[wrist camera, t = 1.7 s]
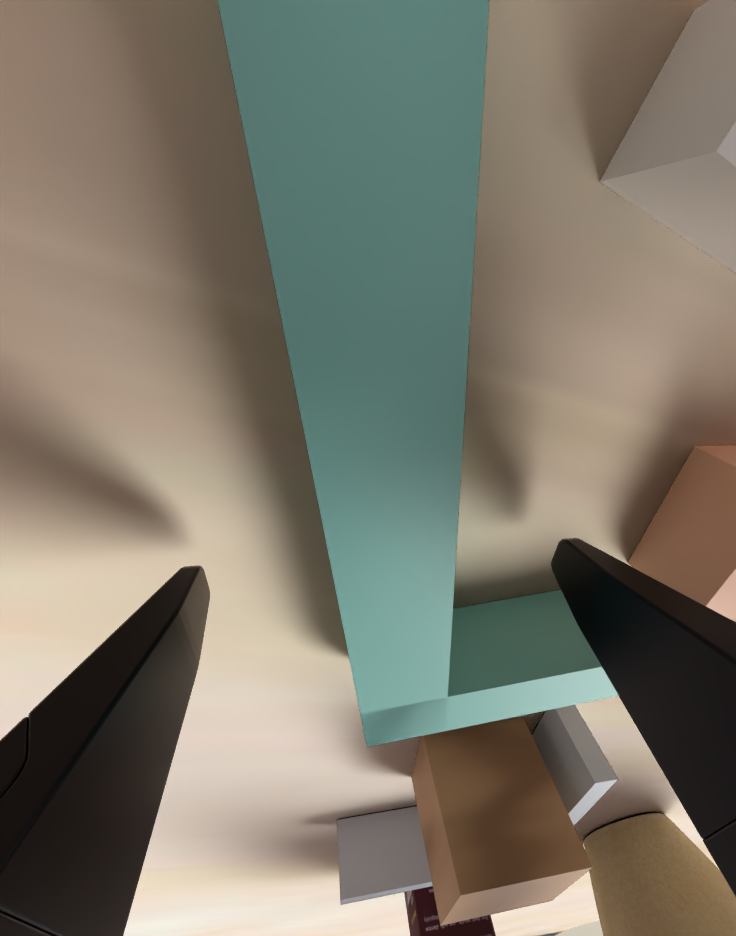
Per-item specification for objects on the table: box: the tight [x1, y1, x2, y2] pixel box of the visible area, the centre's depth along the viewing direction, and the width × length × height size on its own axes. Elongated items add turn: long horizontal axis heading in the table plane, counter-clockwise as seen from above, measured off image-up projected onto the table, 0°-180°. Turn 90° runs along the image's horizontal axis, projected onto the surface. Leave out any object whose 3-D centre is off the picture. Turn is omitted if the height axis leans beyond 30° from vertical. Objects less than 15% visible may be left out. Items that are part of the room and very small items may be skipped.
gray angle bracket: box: [337, 705, 618, 905], centre depth 18 cm, size 12×12×3 cm
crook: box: [217, 0, 619, 747], centre depth 8 cm, size 9×16×3 cm, turn 5°
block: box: [412, 717, 593, 926], centre depth 16 cm, size 5×5×5 cm
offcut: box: [628, 445, 736, 620], centre depth 10 cm, size 2×4×2 cm, turn 177°
